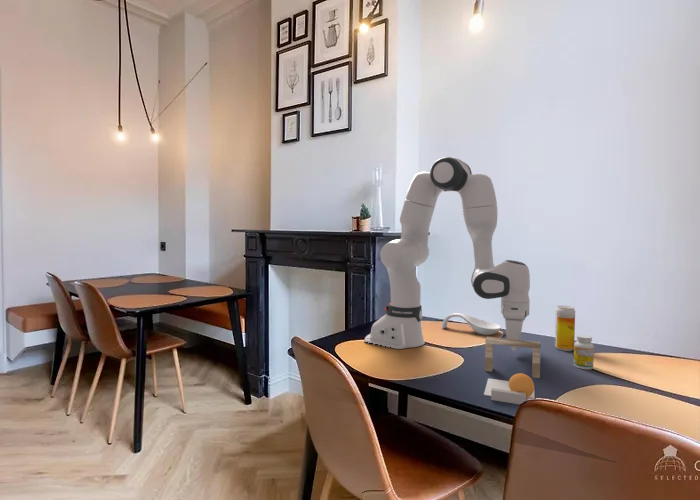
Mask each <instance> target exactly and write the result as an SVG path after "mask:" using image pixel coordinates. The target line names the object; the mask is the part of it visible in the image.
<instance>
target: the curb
mask: <svg viewBox="0 0 700 500" xmlns="http://www.w3.org/2000/svg"><path fill="white" fill-rule="evenodd" d="M490 400H491V401H496V402H502V403H508V404H509V403H510V404H513V405H514V404H515V405H520V404H521V403H523V402H524V401H526V393H522V392H515V391H509V390H502V389H495V388H492V390H491V396H490Z"/></svg>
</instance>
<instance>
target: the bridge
mask: <svg viewBox="0 0 700 500" xmlns="http://www.w3.org/2000/svg"><path fill="white" fill-rule="evenodd" d="M484 344H485V346H484V349H485V353H484V354H485V355H484V357H485V358H484V371H485V372H491V373H492V372H493V369H494V345H500V346H509V347H511V346H517V348H518V347H519V348H525V349H526V348H527V349H528V348H529V349H532V362H531V363H532V364H531V366H532V367H531V368H532V369H531V370H532V371H531V376H532V378H536V379H540V378H541V349H542V348H541V346H542V345H541V341H535V340H534V341H533V340H523V339H520V340H514V339H507V338H504V337H502V338H501V337H493V336H486V337H485V343H484Z"/></svg>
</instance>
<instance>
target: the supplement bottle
mask: <svg viewBox="0 0 700 500" xmlns="http://www.w3.org/2000/svg"><path fill="white" fill-rule="evenodd" d="M592 341H593V337H592V336H590V335H588V334H577V335H576V341H574V349H573V366H574V367H575V368H577V369H581V370H593V368H594V357H595V356H594V355H595V346H594V344H593V343H592Z"/></svg>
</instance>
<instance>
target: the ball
mask: <svg viewBox="0 0 700 500" xmlns="http://www.w3.org/2000/svg"><path fill="white" fill-rule="evenodd" d="M508 381H509V388H510V390H511V391H515V392H522V393H526V398H527V397H529V396H530V395H531V394H532V393H533V391H534V392H535V383H534V381H533V379H532V378H531V377H530V376H529V375H527V374H525V373H521V372H520V373H515V374H513V375H512V376H510V379H508Z"/></svg>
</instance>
